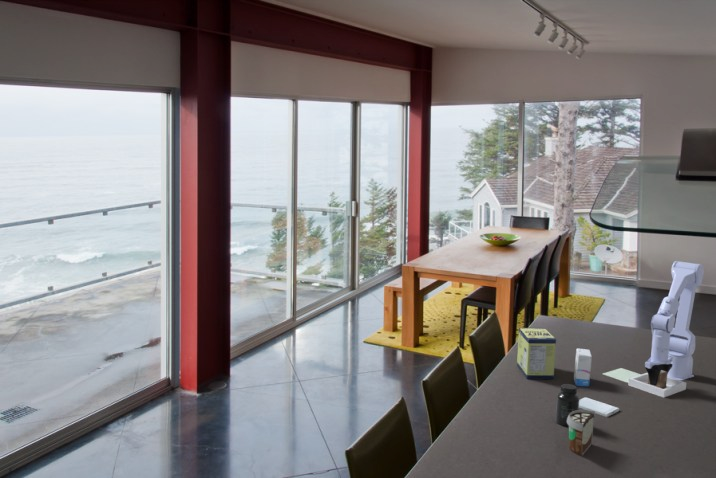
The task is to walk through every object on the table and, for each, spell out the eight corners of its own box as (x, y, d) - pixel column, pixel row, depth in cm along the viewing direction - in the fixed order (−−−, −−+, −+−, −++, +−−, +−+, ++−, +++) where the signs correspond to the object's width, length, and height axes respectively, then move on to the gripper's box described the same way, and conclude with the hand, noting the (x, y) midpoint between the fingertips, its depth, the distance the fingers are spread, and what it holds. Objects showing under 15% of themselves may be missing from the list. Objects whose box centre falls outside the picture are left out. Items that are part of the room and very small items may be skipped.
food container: (572, 437, 215) (574, 405, 214) (593, 442, 212) (595, 410, 210) (558, 451, 205) (561, 419, 204) (580, 457, 202) (582, 424, 200)
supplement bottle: (558, 416, 231) (560, 381, 229) (579, 421, 227) (582, 385, 225) (552, 423, 225) (555, 387, 223) (574, 428, 221) (577, 392, 219)
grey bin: (650, 379, 266) (650, 371, 266) (685, 390, 255) (686, 382, 255) (628, 386, 258) (628, 378, 258) (663, 398, 247) (664, 390, 247)
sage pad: (621, 369, 276) (621, 367, 276) (646, 377, 268) (646, 376, 268) (602, 375, 270) (602, 373, 269) (627, 384, 261) (627, 382, 261)
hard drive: (572, 402, 240) (607, 413, 231) (585, 396, 245) (619, 407, 236) (572, 407, 240) (606, 418, 231) (585, 401, 245) (619, 412, 236)
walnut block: (654, 384, 260) (656, 368, 259) (666, 387, 256) (667, 371, 255) (647, 386, 257) (649, 370, 256) (659, 390, 254) (660, 374, 253)
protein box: (542, 365, 280) (544, 327, 277) (554, 379, 264) (556, 339, 262) (516, 365, 279) (518, 327, 277) (526, 379, 264) (528, 339, 261)
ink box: (590, 387, 257) (592, 355, 255) (575, 386, 258) (577, 354, 256) (587, 379, 265) (589, 348, 263) (573, 377, 266) (575, 347, 264)
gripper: (659, 353, 247) (655, 391, 249) (682, 346, 255) (678, 382, 257) (640, 348, 253) (637, 384, 255) (663, 341, 261) (660, 377, 263)
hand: (657, 383), depth 256 cm, fingers closed on walnut block, 4 cm apart
